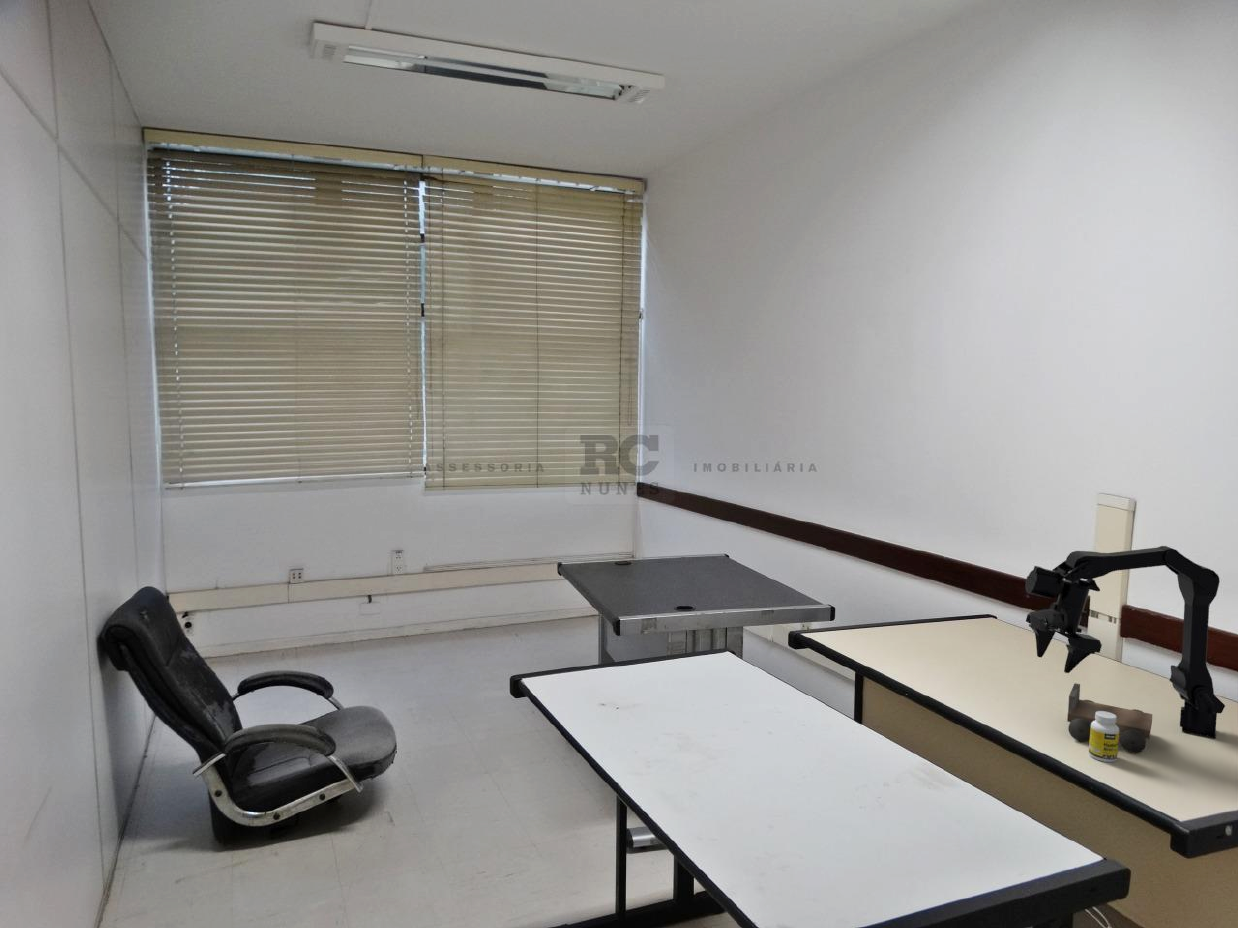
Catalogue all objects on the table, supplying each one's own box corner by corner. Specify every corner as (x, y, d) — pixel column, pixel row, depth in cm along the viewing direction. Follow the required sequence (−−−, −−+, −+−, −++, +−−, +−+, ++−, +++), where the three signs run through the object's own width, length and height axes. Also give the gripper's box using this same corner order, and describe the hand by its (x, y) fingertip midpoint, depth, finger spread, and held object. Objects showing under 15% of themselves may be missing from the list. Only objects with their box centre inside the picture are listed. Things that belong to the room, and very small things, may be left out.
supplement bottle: (1103, 764, 173) (1106, 720, 173) (1082, 753, 179) (1085, 710, 178) (1123, 761, 175) (1126, 717, 174) (1102, 750, 180) (1105, 708, 179)
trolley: (1151, 733, 189) (1153, 694, 188) (1147, 756, 177) (1150, 715, 176) (1073, 716, 198) (1075, 680, 197) (1065, 737, 186) (1067, 698, 185)
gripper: (1016, 586, 199) (999, 645, 201) (1071, 612, 181) (1051, 676, 183) (1054, 592, 202) (1036, 651, 204) (1112, 619, 183) (1092, 682, 185)
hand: (1052, 664), depth 194 cm, fingers open, 9 cm apart
